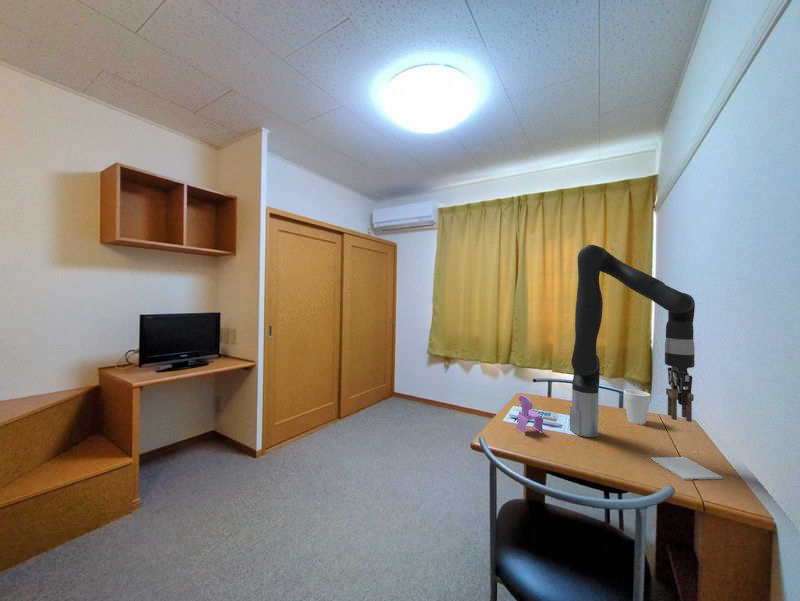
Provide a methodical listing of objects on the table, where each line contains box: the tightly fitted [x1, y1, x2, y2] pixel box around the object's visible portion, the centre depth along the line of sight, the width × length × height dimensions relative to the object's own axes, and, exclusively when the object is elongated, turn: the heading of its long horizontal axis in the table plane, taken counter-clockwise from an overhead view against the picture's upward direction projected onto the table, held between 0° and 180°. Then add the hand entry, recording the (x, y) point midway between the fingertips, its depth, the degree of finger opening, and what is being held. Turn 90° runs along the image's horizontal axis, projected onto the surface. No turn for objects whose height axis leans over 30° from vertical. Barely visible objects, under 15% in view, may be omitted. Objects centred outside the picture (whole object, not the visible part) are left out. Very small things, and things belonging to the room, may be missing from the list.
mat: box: [650, 456, 723, 481], centre depth 101 cm, size 12×12×1 cm
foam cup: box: [623, 389, 652, 426], centre depth 139 cm, size 10×9×13 cm
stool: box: [665, 387, 695, 423], centre depth 106 cm, size 6×6×9 cm
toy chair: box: [515, 394, 544, 435], centre depth 129 cm, size 8×9×15 cm
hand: (679, 401), depth 106 cm, fingers closed on stool, 5 cm apart
